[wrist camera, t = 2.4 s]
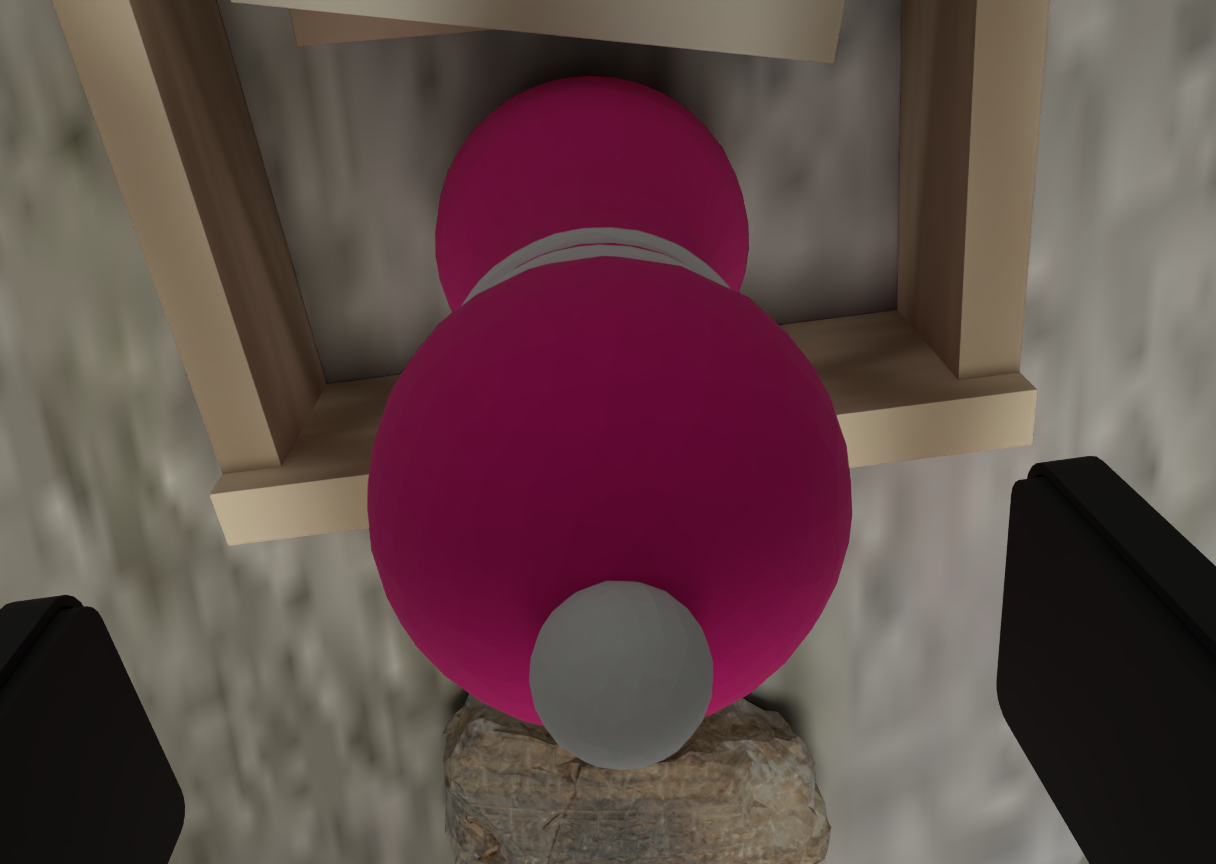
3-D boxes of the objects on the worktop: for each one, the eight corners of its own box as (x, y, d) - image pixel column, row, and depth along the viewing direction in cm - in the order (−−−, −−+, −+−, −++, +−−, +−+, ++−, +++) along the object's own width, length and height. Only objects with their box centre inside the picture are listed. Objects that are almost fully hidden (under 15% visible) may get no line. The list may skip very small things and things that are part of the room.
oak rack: (973, -310, 21) (1107, -391, 16) (946, 350, 29) (1032, 445, 23) (97, -180, 22) (-56, -218, 17) (291, 434, 29) (228, 545, 24)
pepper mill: (762, 110, 25) (1209, 520, 8) (665, 350, 28) (821, 1041, 11) (499, 12, 24) (294, 229, 6) (427, 275, 27) (153, 920, 9)
